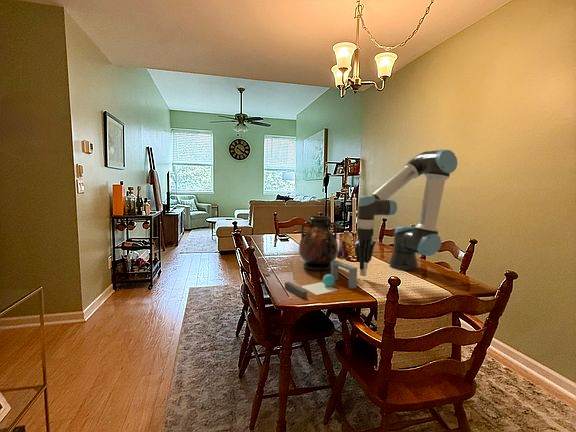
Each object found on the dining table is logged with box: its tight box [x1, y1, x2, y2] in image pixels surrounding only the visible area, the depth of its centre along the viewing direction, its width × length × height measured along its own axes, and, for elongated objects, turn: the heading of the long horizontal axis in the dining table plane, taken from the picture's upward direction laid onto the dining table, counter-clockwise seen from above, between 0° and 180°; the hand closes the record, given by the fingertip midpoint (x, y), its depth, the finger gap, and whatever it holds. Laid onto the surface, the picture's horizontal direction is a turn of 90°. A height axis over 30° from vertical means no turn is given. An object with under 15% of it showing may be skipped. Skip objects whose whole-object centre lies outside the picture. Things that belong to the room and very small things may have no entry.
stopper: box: [284, 281, 308, 299], centre depth 132 cm, size 2×14×2 cm, turn 32°
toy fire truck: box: [336, 238, 350, 259], centre depth 197 cm, size 7×12×10 cm, turn 3°
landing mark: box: [299, 281, 339, 296], centre depth 138 cm, size 12×12×1 cm
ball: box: [322, 273, 336, 287], centre depth 141 cm, size 6×6×6 cm
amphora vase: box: [298, 215, 339, 272], centre depth 169 cm, size 22×22×28 cm
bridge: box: [330, 259, 358, 289], centre depth 145 cm, size 3×14×9 cm, turn 32°
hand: (363, 275), depth 152 cm, fingers closed
